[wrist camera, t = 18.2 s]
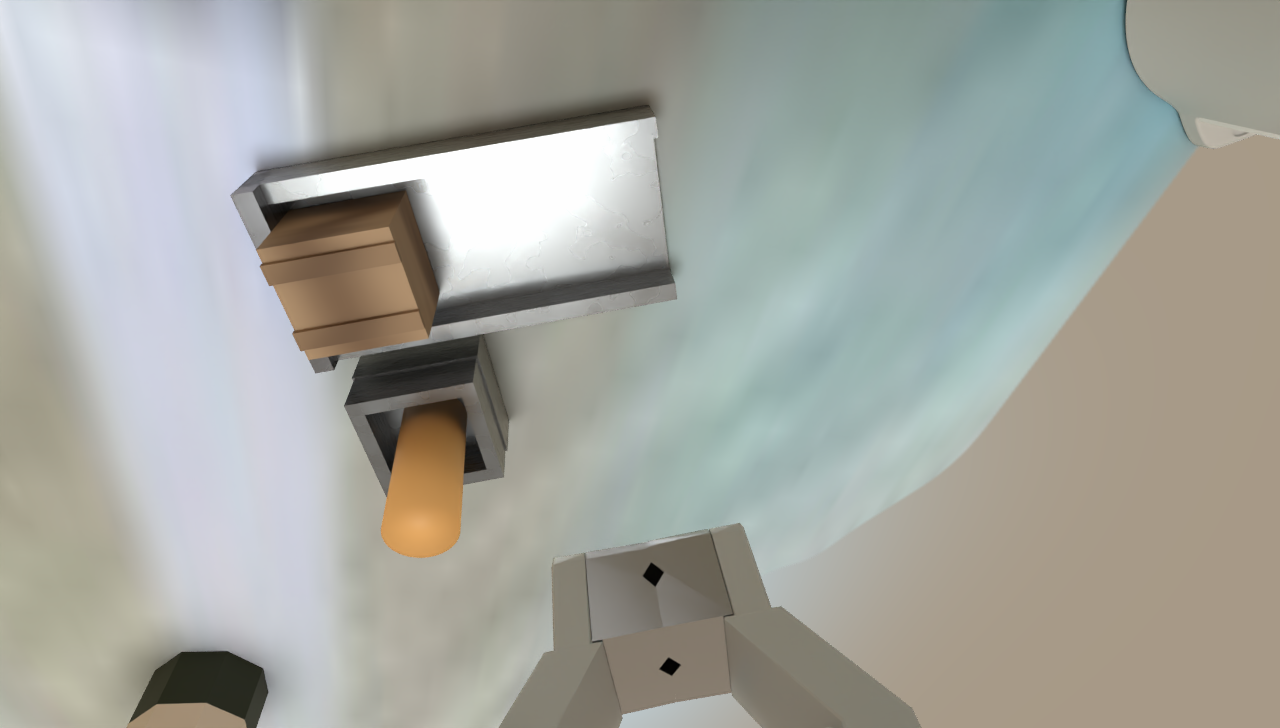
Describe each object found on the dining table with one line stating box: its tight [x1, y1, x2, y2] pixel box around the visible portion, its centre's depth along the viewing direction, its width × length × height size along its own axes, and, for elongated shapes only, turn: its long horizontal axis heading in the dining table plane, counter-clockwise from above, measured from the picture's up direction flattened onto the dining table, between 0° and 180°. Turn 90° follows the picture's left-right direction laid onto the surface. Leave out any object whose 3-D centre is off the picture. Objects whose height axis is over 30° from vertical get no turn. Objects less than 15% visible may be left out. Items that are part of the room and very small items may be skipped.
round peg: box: [381, 398, 467, 558], centre depth 37 cm, size 4×4×9 cm
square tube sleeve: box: [344, 334, 509, 497], centre depth 41 cm, size 7×7×6 cm
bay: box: [230, 105, 677, 373], centre depth 36 cm, size 20×10×4 cm, turn 98°
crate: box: [256, 190, 440, 360], centre depth 35 cm, size 6×6×5 cm
